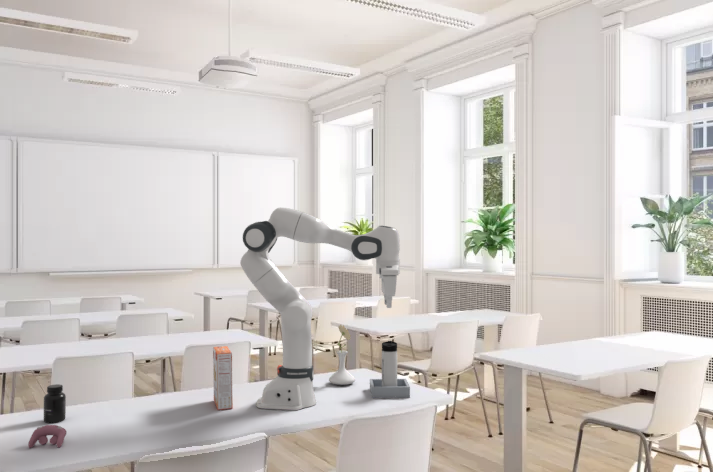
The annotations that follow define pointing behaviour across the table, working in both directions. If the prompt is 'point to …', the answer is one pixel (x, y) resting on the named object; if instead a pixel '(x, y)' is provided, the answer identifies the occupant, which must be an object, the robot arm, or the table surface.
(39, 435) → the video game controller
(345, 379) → the flower in vase
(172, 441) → the table surface
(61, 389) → the supplement bottle
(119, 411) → the table surface
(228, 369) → the cracker box
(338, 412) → the table surface
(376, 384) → the tray
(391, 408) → the table surface
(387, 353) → the travel mug
